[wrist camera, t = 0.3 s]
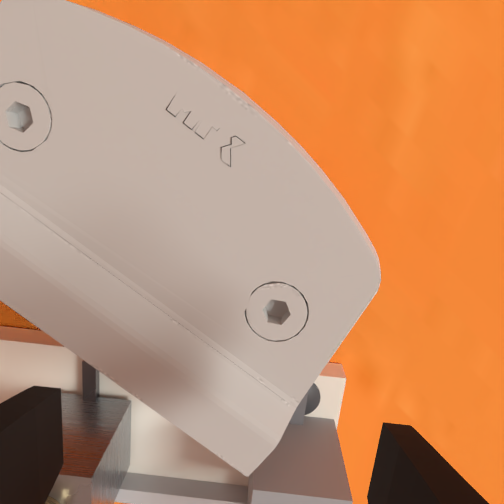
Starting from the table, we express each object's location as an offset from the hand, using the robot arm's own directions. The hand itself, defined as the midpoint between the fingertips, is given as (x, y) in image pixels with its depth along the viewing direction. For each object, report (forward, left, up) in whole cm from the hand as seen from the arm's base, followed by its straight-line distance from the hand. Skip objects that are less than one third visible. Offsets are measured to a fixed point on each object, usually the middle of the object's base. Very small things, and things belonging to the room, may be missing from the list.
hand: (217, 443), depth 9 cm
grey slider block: (-7, +6, -8) cm, 13 cm away
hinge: (0, +5, -8) cm, 10 cm away
